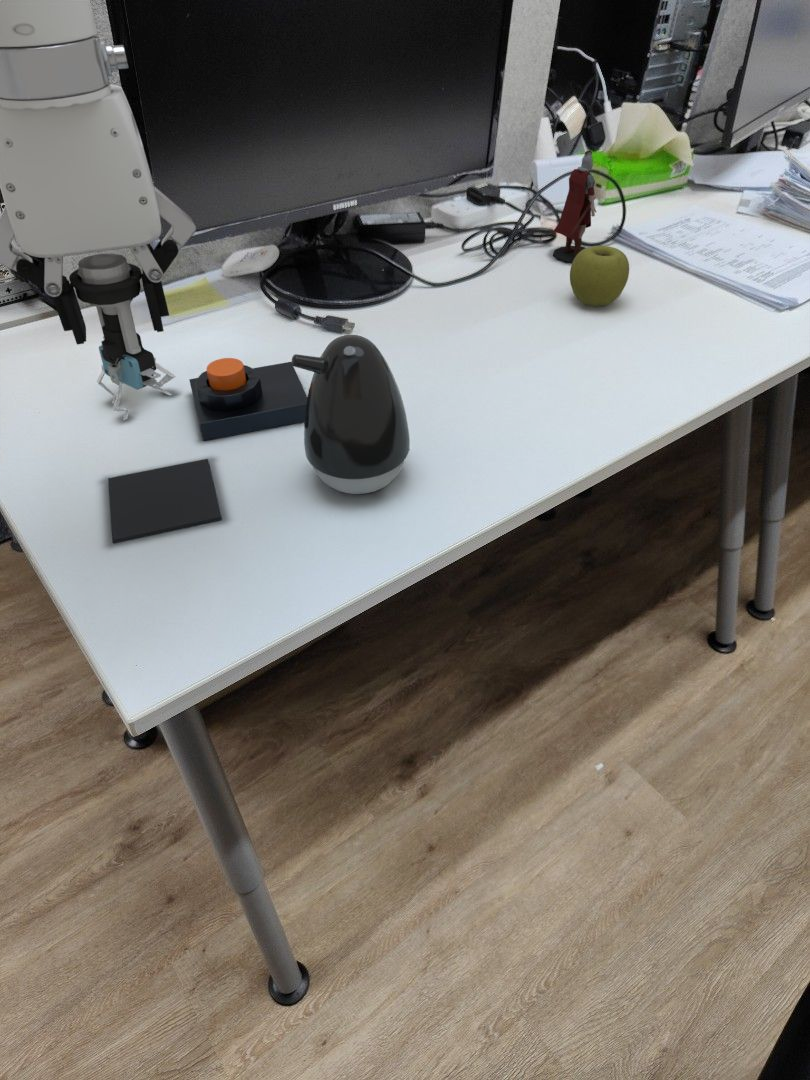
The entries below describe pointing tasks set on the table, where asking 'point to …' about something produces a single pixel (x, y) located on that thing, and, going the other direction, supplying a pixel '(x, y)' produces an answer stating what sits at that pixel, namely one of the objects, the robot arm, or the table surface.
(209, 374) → the orange short cylinder
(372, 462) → the pump dispenser
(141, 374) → the push button
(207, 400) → the station
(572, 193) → the figurine
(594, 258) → the apple
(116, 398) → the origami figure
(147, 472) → the pad
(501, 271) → the table surface
